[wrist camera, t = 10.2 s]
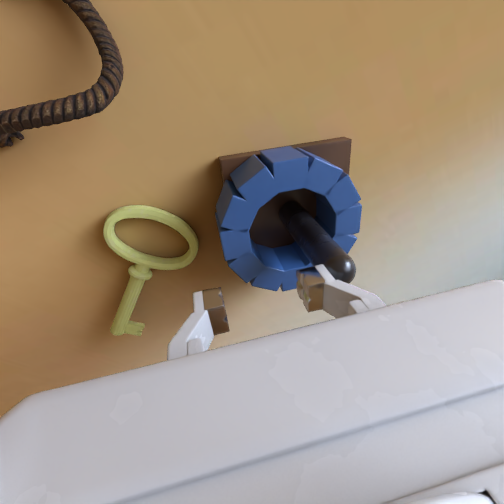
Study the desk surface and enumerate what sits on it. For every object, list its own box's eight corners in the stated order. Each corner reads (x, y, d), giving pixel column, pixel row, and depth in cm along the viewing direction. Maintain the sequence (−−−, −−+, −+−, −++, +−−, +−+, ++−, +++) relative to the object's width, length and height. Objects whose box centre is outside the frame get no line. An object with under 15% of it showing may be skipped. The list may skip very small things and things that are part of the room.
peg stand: (344, 136, 22) (453, 173, 13) (337, 245, 27) (411, 324, 18) (218, 156, 21) (243, 211, 12) (236, 266, 26) (263, 360, 17)
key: (114, 323, 27) (109, 340, 25) (103, 200, 21) (95, 210, 19) (191, 321, 29) (192, 337, 27) (201, 208, 23) (202, 218, 21)
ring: (341, 137, 21) (368, 146, 18) (335, 253, 26) (355, 275, 23) (204, 160, 20) (207, 174, 17) (227, 276, 25) (233, 302, 22)
